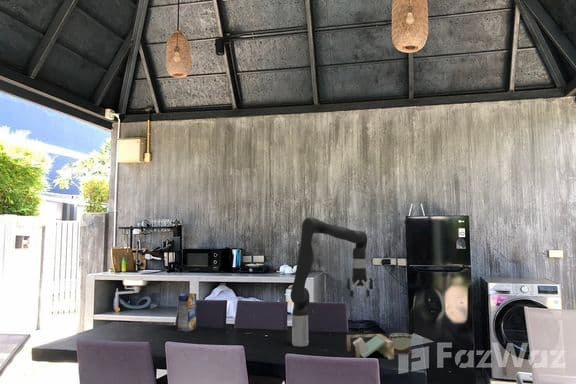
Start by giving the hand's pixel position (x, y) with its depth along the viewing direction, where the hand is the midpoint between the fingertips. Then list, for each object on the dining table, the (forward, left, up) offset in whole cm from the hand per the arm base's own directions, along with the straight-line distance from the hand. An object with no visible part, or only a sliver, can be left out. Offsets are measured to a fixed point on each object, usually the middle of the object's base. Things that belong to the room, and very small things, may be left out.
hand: (359, 297), depth 233 cm
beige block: (+1, -1, -28) cm, 28 cm away
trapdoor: (+5, -1, -26) cm, 27 cm away
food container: (+22, +1, -30) cm, 37 cm away
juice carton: (-101, +80, -30) cm, 133 cm away
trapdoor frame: (+4, -2, -30) cm, 30 cm away
